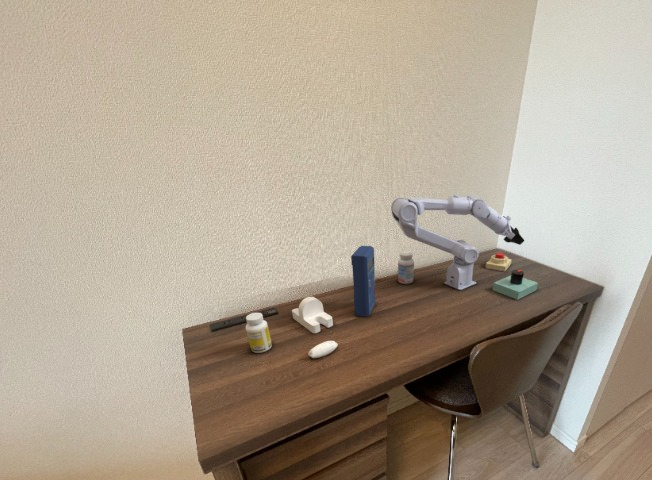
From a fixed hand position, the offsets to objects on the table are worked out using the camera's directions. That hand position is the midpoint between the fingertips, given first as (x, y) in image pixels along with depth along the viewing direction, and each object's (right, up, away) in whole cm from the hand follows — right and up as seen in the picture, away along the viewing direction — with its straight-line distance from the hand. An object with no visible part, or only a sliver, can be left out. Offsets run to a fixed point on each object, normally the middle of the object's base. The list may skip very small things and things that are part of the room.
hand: (517, 237), depth 119 cm
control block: (-1, -9, +18) cm, 20 cm away
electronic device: (-55, -26, -14) cm, 63 cm away
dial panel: (-2, -20, -3) cm, 20 cm away
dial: (-2, -17, -5) cm, 18 cm away
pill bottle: (-41, -16, +6) cm, 44 cm away
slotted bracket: (-71, -30, -20) cm, 80 cm away
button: (-1, -5, +17) cm, 17 cm away
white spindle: (-65, -37, -35) cm, 83 cm away
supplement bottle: (-83, -36, -32) cm, 96 cm away
